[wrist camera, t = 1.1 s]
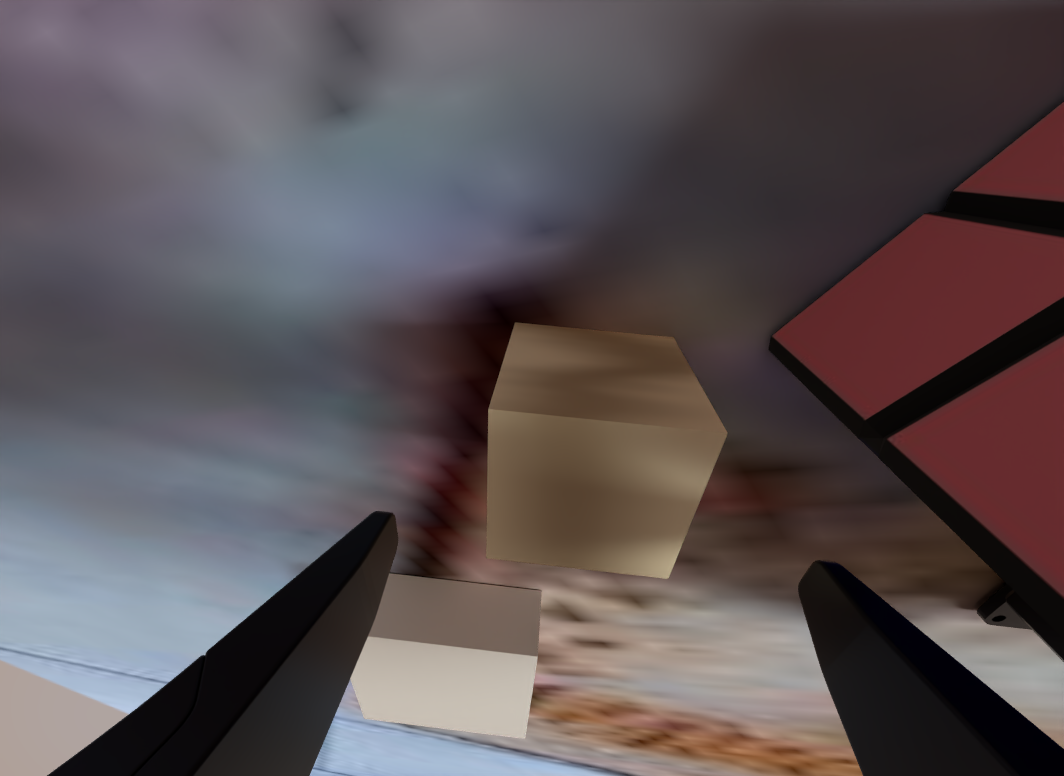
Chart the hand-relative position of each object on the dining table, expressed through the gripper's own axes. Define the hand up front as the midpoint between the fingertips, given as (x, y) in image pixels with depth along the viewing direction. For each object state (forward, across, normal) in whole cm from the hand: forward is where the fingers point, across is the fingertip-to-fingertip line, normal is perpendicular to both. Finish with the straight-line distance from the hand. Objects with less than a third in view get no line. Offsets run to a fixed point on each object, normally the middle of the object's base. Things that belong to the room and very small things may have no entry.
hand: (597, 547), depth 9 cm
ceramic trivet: (+6, +5, +16) cm, 18 cm away
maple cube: (+6, 0, 0) cm, 6 cm away
